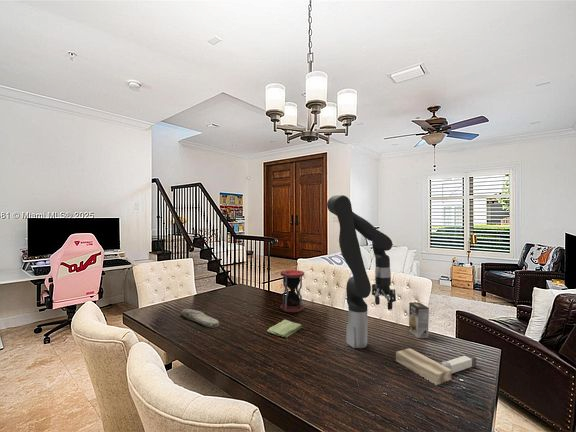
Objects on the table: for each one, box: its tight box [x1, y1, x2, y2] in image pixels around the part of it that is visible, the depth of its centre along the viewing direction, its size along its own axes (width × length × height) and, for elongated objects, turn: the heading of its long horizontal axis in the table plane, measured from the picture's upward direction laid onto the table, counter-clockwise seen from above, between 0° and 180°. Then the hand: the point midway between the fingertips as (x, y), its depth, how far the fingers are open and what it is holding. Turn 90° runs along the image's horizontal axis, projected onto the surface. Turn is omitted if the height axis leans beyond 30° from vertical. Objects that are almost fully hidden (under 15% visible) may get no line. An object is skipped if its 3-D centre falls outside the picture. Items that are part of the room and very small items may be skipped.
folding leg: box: [441, 353, 477, 375], centre depth 119 cm, size 18×4×4 cm, turn 115°
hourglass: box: [279, 269, 305, 313], centre depth 195 cm, size 16×16×25 cm
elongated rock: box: [181, 308, 220, 329], centre depth 172 cm, size 35×5×10 cm
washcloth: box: [266, 319, 303, 339], centre depth 158 cm, size 13×18×3 cm
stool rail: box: [395, 348, 452, 386], centre depth 118 cm, size 8×20×4 cm, turn 25°
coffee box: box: [408, 301, 430, 339], centre depth 154 cm, size 9×6×16 cm
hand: (383, 306), depth 146 cm, fingers open, 8 cm apart
